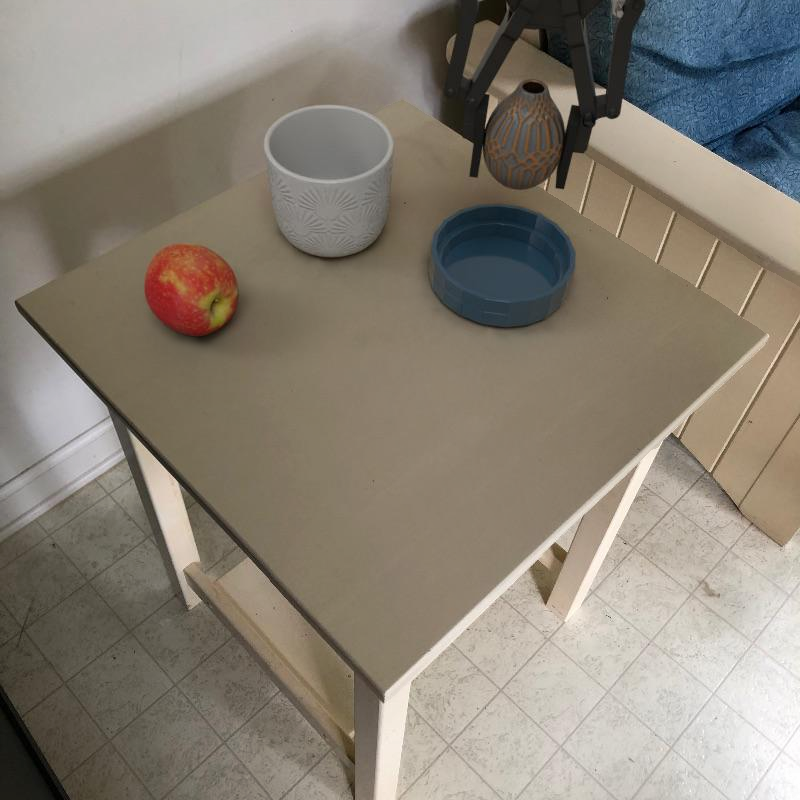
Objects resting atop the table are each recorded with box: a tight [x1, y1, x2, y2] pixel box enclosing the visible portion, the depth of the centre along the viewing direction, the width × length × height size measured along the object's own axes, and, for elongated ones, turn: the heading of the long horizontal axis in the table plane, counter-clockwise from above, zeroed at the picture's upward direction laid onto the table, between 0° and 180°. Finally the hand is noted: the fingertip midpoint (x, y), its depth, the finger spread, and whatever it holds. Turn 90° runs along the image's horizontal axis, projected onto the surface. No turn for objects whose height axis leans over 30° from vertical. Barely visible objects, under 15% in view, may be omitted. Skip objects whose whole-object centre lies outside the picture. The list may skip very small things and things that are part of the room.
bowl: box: [428, 202, 577, 328], centre depth 82 cm, size 14×14×4 cm
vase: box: [482, 78, 566, 191], centre depth 70 cm, size 7×7×9 cm
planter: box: [263, 104, 395, 258], centre depth 83 cm, size 12×12×11 cm
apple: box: [143, 242, 239, 337], centre depth 76 cm, size 8×8×8 cm
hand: (517, 173), depth 73 cm, fingers closed on vase, 7 cm apart
